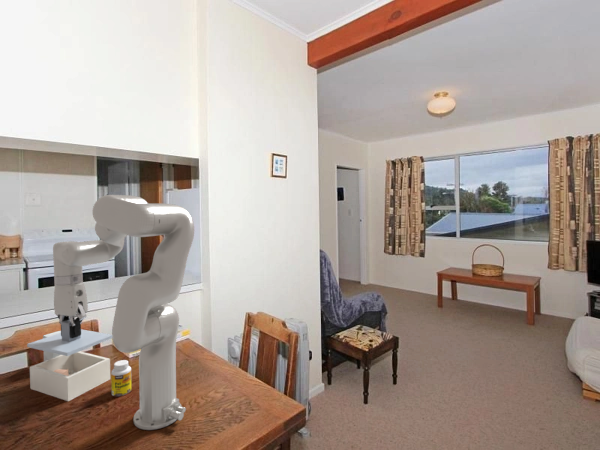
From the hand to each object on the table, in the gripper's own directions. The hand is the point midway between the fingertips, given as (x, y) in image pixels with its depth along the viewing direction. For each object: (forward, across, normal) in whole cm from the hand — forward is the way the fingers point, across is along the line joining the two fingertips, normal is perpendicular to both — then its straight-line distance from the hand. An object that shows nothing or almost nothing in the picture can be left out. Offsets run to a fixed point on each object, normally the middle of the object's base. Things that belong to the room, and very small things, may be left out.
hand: (71, 335), depth 108 cm
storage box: (+17, +1, 0) cm, 17 cm away
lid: (+2, 0, 0) cm, 2 cm away
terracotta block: (+16, +4, +2) cm, 17 cm away
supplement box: (+17, +18, -7) cm, 26 cm away
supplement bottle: (+18, -18, -3) cm, 26 cm away
